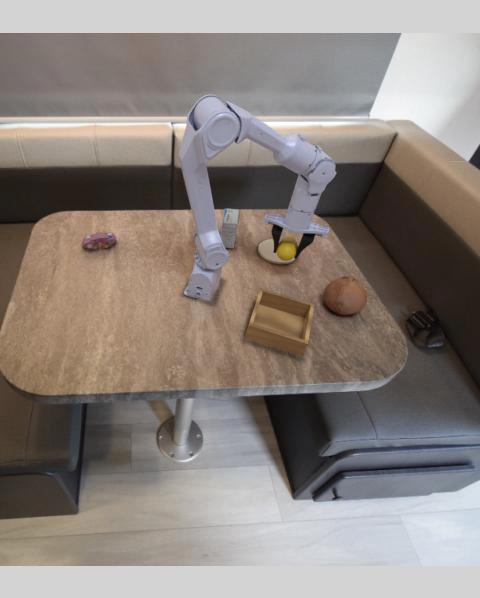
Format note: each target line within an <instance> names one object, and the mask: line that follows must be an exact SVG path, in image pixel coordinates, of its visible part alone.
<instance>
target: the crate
mask: <svg viewBox="0 0 480 598" xmlns="http://www.w3.org/2000/svg"><path fill="white" fill-rule="evenodd" d="M257 294H258V295H257V297H256V300H255V304H254V307H253V310H252V313H251V316H250V319H249V322H248V325H247V328H246V331H245V335H244V339H246V340H249V341H252V342H256V343H258V344H262V345H265V346H268V347H271V348H274V349H277V350H280V351H284V352H287V353H289V354H292V355H295V356H299V357H303V354H304V352H305V350H306V348H307V347H308V345H309V342H310V335H311V329H312V322H313V316H314V310H315V303H313V302H310V301H306V300H303V299H299V298H295V297H292V296H289V295H287V294H282V293H278V292H275V291H271V290H268V289H265V288H260V289H259V292H258V293H257Z"/></svg>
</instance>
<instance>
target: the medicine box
mask: <svg viewBox="0 0 480 598" xmlns="http://www.w3.org/2000/svg"><path fill="white" fill-rule="evenodd" d="M222 215H223V216H222V221H221V228H220V233H219V234H220V237H221V240H222V243H223V245H224V247H225V249H231V250H232V249H234V247H235V243H236V238H237V234H238V233H237V232H238V228H239V219H240V209H235V208H227V207H226V208H224V211H223V214H222Z"/></svg>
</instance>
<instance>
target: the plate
mask: <svg viewBox="0 0 480 598" xmlns="http://www.w3.org/2000/svg"><path fill="white" fill-rule="evenodd" d="M281 240H282V239H280V241H281ZM280 241H279V242H280ZM257 247H258V248H257V253H258V255H259V256H260V257H261V258H262V259H263V260H264V261H266V262H269V263H271V264H274V265H275V264H276V265H288V264H291V263H293V262H294V261H296V259H295V258H293V259H291V260H289V261H283V260H281V259H280V258H279V257H278V256H277V252H276V253H273V252H274V241H273V238H269V239H264V240H262V241H261V242H260V243H259V244H258V246H257Z"/></svg>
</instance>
